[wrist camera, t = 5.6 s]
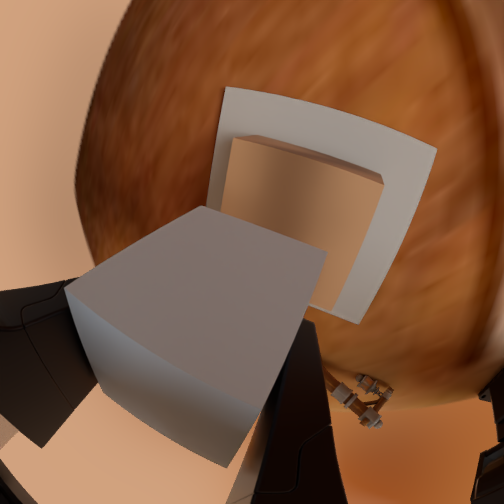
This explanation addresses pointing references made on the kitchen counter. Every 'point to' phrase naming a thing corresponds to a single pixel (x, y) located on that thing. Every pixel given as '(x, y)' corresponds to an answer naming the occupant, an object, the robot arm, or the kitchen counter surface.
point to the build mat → (343, 147)
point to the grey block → (196, 325)
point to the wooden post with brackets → (351, 401)
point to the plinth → (304, 202)
